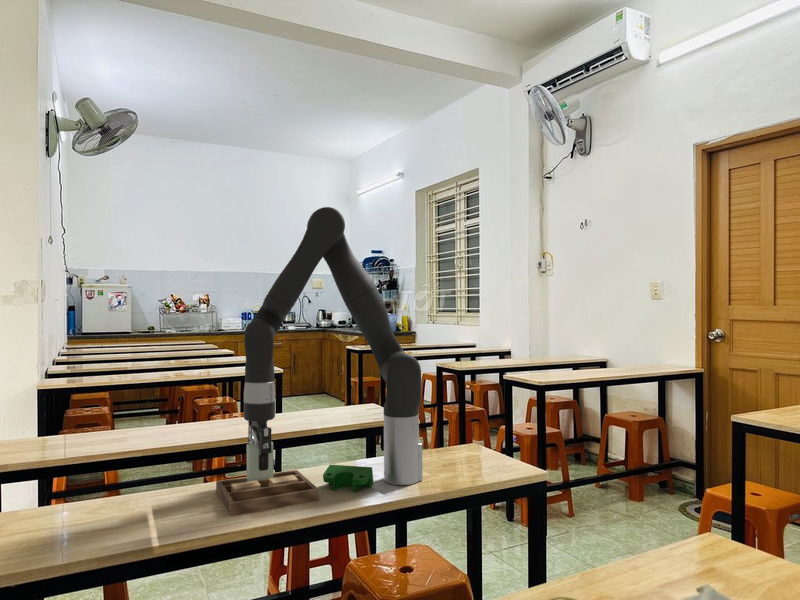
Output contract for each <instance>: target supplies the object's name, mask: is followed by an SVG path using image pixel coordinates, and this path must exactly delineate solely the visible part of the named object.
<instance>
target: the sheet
mask: <svg viewBox="0 0 800 600" xmlns="http://www.w3.org/2000/svg"><path fill="white" fill-rule="evenodd" d="M265 448H266V447H265V446H263V449H265ZM271 449H272V451H271V453H269V454H268V470H264V471H260V470H259V454H258V448H257V447H256V446H255V443H251V444H249V443H247V444H246V477H247V482H249V481H255V480H257V481H259V480H265V479H269V478H273V473H274V442H273V441H271Z"/></svg>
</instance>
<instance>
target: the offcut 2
mask: <svg viewBox="0 0 800 600" xmlns="http://www.w3.org/2000/svg"><path fill="white" fill-rule="evenodd" d="M295 482H298V479H297V478H296V477H295V476H294V475H289V476H283V477H276V478H269V486H275V485H282V484H288V483H295Z"/></svg>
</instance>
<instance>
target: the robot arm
mask: <svg viewBox="0 0 800 600" xmlns="http://www.w3.org/2000/svg"><path fill="white" fill-rule="evenodd" d="M345 229H346V222H345V219H344V215H342V213H341V212H340V211H339V210H338V209H336V208H335V207H331V206H324V207H321V208H318V209H316V210H315V211H313V213H312V214H311V215H310V217H309V218H308V221H307V224H306V231H305V233H304V236H303V238H302V240H301V241H300V244H299V245H298V247H297V249H296V251H295V252H294V254H293V255H292V257H291V259H290V260H289V261H288V263H286V266H284V268H283V269H282V271H281V272H280V274H279V275H278V277H277V278H276V280H275V281H274V283H273V284H272V286H271V288H270V289H269V291H268V292H267V294H266V296H265V297H264V299H263V302H262V305H261V306H260V308H259V309H258V311H257V312H256V313H255V315H254V317H253V319H252V320H251V321H250V322H249V323H248V324H247V325H246V326H245V328H244V341H243V342H244V354H245V364H244V365H245V366H244V367H245V368H244V389H243V419H244V420H245V421H246V422H248V426H247V427H248V431H247V432H248V433H247V434H248V435H247V442H248V444H251V443H255V446H256V447H257V448H258V454H259V470H260V471H264V470H268V454H269V453H271V451H272V449H271V442H272V427H269V426H268V422H269V421H271V420H274V419H275V417H276V387H275V386H276V385H275V363H274V343H275V342H274V341H275V340H274V339H275V336H276V335H277V333H278V331H279V329H280V328H281V326H282V324H283V322H284V320H285V318H286V317H287V316H288V315H289V314H290V312H291V311H292V310H293V308H294V306H295V305H296V303H297V301H298V299H299V298H300V296H301V294H302V292H303V291H304V289H305V287H306V286H307V283H308V282H309V280H310V278H311V276H312V275H313V273H314V271H315V269H316V268H317V266H318V264H319V263H320V261H322V258H323V259H324V261H325V263H326V264H327V267H328V268H329V270H330V272H331V275H332V278H333V280H334V283H335V285H336V287H337V289H338V292H339V294H340V296H341V298H342V300H343V302H344V305H345V306H346V308H347V311H348V312H349V314H350V316H351V317H352V319H353V321H354V323H355V324H356V326H357V328H358V329H359V331H360V333H361V334H362V336H363V337H364V338H365V340H366V342H367V344H368V346H369V348H370V350H371V351H372V354H373V357H374V359H375V363H376V364H377V367H378V370H379V372H380V375H381V376H382V377H381V378H383V380H384V382H386V397H385V398H386V399H385V402H384V404H383V475H384V477H383V481H384V482H385V483H387V484H389V485H392V486H393V485H396V486H409V485H414V484H417V483H418V482H420V481H423V444H422V443H421V442H420V425H419V424H420V422H419V421H420V420H419V417H420V412H419V411H420V405H421V401H422V370H421V369H422V367H421V364H420V363H419V360H417V358H416V357H414V356H412V355H411V354H408V353H406V352H405V350H404V349H403V348H402V346H401V345H400V343H399V341H398V338H396V335H395V334H394V332H393V329H392V326H391V322H390V319H389V314H388V311H387V308H386V304H385V302H384V300H383V298H382V295H381V293H380V291H379V289H378V287H377V286H376V284H375V282H374V281H373V279H372V277H371V276H370V274H369V273H368V272H367V271H366V269H365V268H364V266H363V265H362V264H361V263H360V262H359V260H358V259H357V258H356V256H355V255H354V253H353V251H352V249H351V247H350V245H349V243H348V241H347V238H346V235H345ZM263 446H265V447H266V448H265V449H263Z"/></svg>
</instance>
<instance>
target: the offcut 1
mask: <svg viewBox="0 0 800 600" xmlns="http://www.w3.org/2000/svg"><path fill="white" fill-rule="evenodd" d="M256 488H261V485H260V483H259V482H258V481H257V480H255V481H249V482H242V483H235V484H231V492H236V491H243V490H249V489H256Z"/></svg>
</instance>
